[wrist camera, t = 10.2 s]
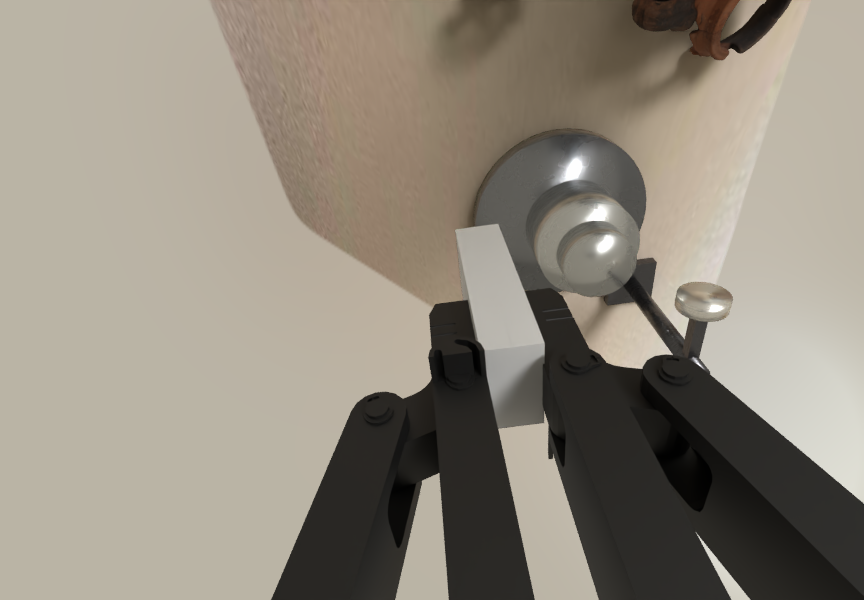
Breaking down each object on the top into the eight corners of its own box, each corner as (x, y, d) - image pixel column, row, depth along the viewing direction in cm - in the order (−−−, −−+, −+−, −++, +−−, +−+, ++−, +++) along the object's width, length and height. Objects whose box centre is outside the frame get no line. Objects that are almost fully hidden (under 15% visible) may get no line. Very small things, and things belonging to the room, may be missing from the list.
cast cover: (527, 183, 45) (552, 223, 38) (621, 175, 45) (664, 214, 38) (523, 265, 50) (544, 314, 43) (608, 258, 50) (643, 306, 43)
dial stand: (611, 226, 50) (685, 313, 37) (658, 219, 50) (750, 304, 37) (604, 300, 56) (667, 399, 42) (647, 294, 55) (723, 392, 42)
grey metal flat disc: (466, 142, 45) (469, 148, 43) (647, 116, 44) (657, 121, 42) (479, 292, 54) (481, 301, 52) (628, 272, 54) (635, 281, 52)
